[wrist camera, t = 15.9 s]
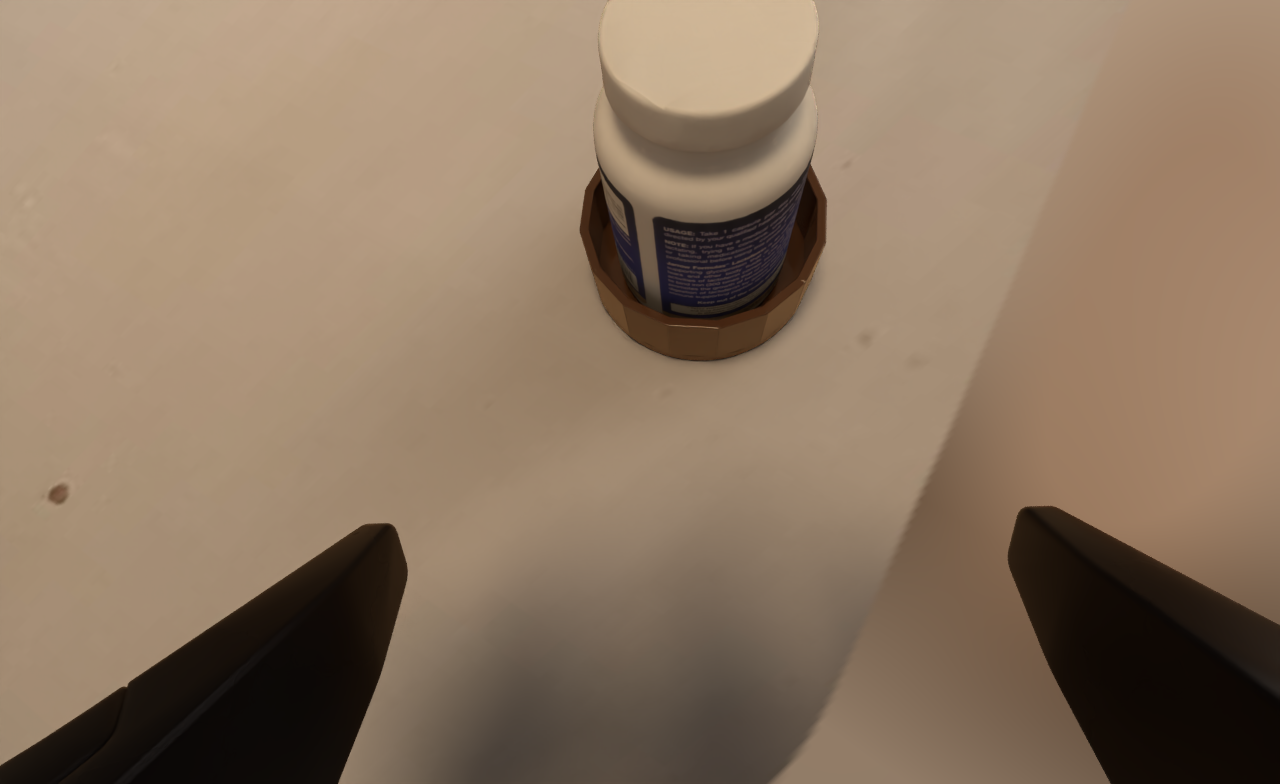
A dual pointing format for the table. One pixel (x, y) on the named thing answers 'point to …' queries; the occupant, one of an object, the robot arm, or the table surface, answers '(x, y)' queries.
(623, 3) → the pill bottle
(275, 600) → the robot arm
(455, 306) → the table surface
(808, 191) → the dock
